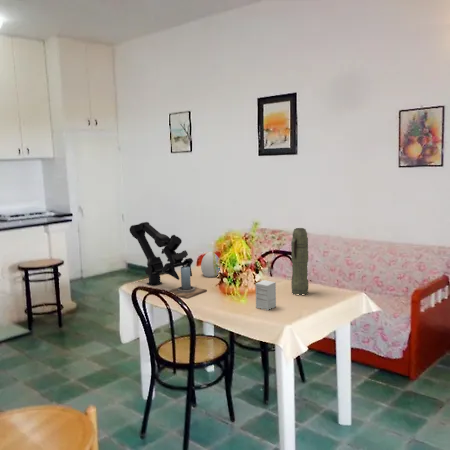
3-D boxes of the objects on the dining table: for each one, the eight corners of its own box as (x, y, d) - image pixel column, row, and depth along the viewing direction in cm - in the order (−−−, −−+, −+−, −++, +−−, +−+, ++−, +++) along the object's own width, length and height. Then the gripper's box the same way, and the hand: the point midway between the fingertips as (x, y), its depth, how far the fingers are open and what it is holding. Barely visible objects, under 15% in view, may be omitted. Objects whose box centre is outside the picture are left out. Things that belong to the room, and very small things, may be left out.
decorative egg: (221, 277, 298) (220, 253, 296) (201, 278, 298) (200, 254, 295) (221, 272, 310) (220, 249, 308) (201, 273, 310) (200, 250, 307)
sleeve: (180, 290, 270) (179, 267, 268) (189, 288, 272) (188, 266, 270) (183, 292, 265) (182, 269, 263) (191, 291, 267) (191, 268, 265)
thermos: (286, 294, 261) (286, 229, 256) (298, 289, 270) (298, 226, 264) (300, 297, 255) (300, 231, 250) (312, 292, 264) (313, 227, 259)
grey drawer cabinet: (264, 304, 245) (263, 279, 244) (276, 306, 241) (276, 281, 239) (255, 308, 240) (255, 283, 238) (267, 310, 235) (267, 285, 233)
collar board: (165, 293, 267) (165, 289, 267) (185, 287, 280) (185, 282, 279) (187, 298, 257) (187, 294, 257) (206, 291, 270) (206, 287, 269)
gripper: (164, 249, 262) (178, 272, 256) (190, 243, 275) (204, 265, 269) (156, 261, 269) (169, 284, 263) (181, 255, 282) (195, 277, 276)
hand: (185, 277), depth 267 cm, fingers open, 9 cm apart
